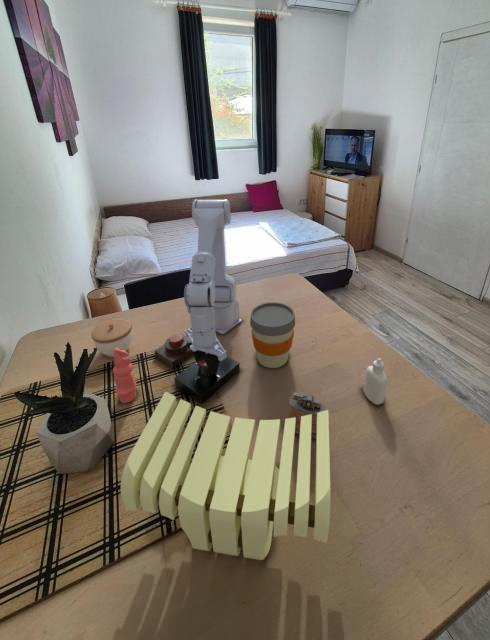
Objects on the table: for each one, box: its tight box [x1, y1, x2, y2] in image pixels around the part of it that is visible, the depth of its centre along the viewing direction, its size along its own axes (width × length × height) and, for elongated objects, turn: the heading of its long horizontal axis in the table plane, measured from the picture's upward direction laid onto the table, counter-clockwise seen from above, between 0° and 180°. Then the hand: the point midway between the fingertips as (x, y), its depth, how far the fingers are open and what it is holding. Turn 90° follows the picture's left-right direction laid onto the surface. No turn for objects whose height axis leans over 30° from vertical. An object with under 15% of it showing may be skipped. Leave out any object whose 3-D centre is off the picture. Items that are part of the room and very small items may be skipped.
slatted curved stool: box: [120, 391, 331, 561], centre depth 55 cm, size 30×16×18 cm, turn 82°
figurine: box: [112, 348, 138, 404], centre depth 79 cm, size 5×5×15 cm
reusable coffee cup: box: [249, 301, 296, 369], centre depth 92 cm, size 13×13×15 cm
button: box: [169, 333, 183, 347], centre depth 95 cm, size 4×4×2 cm
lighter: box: [288, 392, 327, 439], centre depth 71 cm, size 8×3×10 cm, turn 71°
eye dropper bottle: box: [362, 357, 388, 406], centre depth 79 cm, size 4×6×12 cm
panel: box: [173, 352, 241, 406], centre depth 86 cm, size 14×10×3 cm
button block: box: [154, 333, 193, 369], centre depth 96 cm, size 10×8×4 cm
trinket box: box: [90, 318, 134, 358], centre depth 96 cm, size 11×11×9 cm
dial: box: [198, 353, 210, 376], centre depth 85 cm, size 4×4×4 cm
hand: (207, 368), depth 86 cm, fingers closed on dial, 4 cm apart
